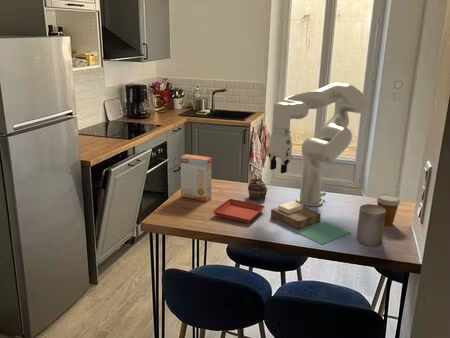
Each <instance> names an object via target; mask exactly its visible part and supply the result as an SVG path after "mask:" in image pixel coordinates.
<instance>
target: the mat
mask: <svg viewBox="0 0 450 338" xmlns="http://www.w3.org/2000/svg"><path fill="white" fill-rule="evenodd" d="M294 232H295V233H297V234H299V235H301V236H303V237H305V238H307V239H309V240H311V241H314V242H316V243H317V244H320V245H325V244H327V243H330V242H332V241H335V240H337V239H340V238H343V237H344V236H347V235H349V234H351V231H348V230H346V229H344V228H340V227H339V226H337V225H334V224H331V223H329V222H327V221H320V223H317V224H314V225H311V226H308V227H306V228H303V229H300V230H296V231H294Z"/></svg>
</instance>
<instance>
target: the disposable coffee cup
mask: <svg viewBox="0 0 450 338" xmlns="http://www.w3.org/2000/svg"><path fill="white" fill-rule="evenodd" d="M376 201H377V204H376V205H378V206H381V207H383V208H384V209H385V210H386V213H385V221H384V227H391V226H393V225H394V221H395V218H396V214H397V211H398V208H399V205H400V203H401V201H400V197H398V196H396V195H394V194H390V193H389V194H388V193H381V194H378V195H377V197H376Z"/></svg>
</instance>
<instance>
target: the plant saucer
mask: <svg viewBox="0 0 450 338" xmlns="http://www.w3.org/2000/svg"><path fill="white" fill-rule="evenodd" d="M264 209H265V205H263V204H262V205H261V204H257V203H252V202H248V201H242V200H239V199H233V198H228V199H227V200H225V201H224V202H223V203H221V204H220V205H219V206H217V207H216V208H214V209H213V210H212V212H213V214H214V215H215V216H216V217H218V218H220V219H221V218H222V219H225V220H226V219H227V220H230V221H235V222H239V223H243V224H244V223H245V224H248V223H250V222H251V221H252V220H253V219H255V217H257V216H258V215H259V214H260V213H261V212H262V211H263V210H264Z"/></svg>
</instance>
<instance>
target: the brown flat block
mask: <svg viewBox="0 0 450 338" xmlns="http://www.w3.org/2000/svg"><path fill="white" fill-rule="evenodd" d="M270 210H271V211H270V219H273V220H274V221H277V222H279V223H281V224H283V225H285V226H288V227H289V228H292V229H294V230H296V231H298V230H300V229H303V228H306V227H309V226H312V225H314V224H317V223H320V222H321V213H320V212H318V211H315V210H313V209H310V208H307V207H306V206H305V207H304V206H303V209H302V210H299V211H296V212H293V213H290V214H288V213H285V212H283V211H281V210H279V206H277V207H274V208H271V209H270Z"/></svg>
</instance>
